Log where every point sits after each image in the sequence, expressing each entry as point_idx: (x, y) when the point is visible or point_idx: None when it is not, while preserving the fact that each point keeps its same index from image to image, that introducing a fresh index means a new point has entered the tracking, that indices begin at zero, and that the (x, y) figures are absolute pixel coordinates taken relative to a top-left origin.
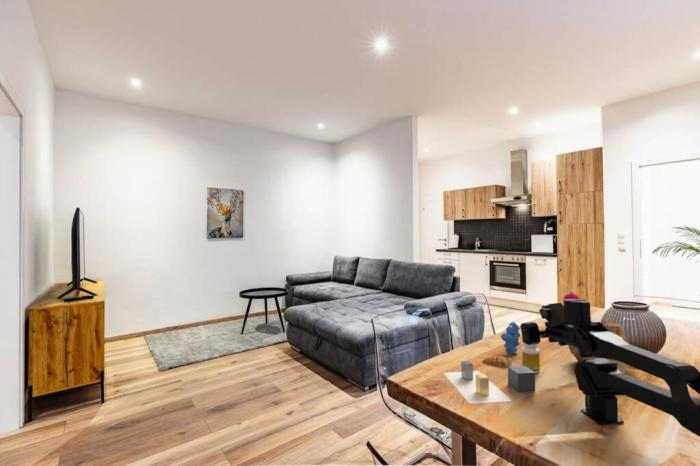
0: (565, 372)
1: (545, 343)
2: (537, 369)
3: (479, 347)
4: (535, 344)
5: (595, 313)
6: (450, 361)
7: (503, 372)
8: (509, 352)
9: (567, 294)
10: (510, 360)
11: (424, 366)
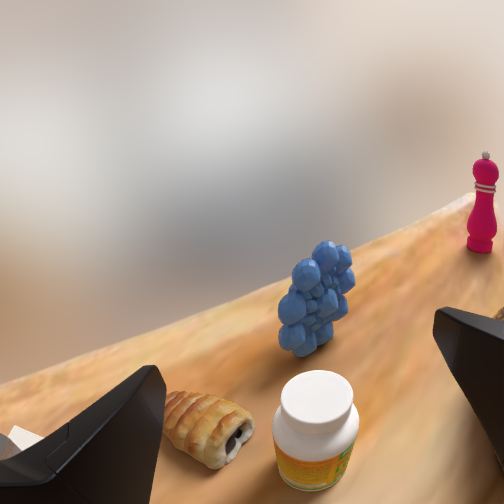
0: (439, 464)
1: (430, 283)
2: (326, 485)
3: (243, 312)
4: (334, 422)
5: (496, 202)
6: (100, 374)
7: (188, 472)
8: (296, 352)
9: (479, 160)
10: (232, 434)
11: (34, 380)
